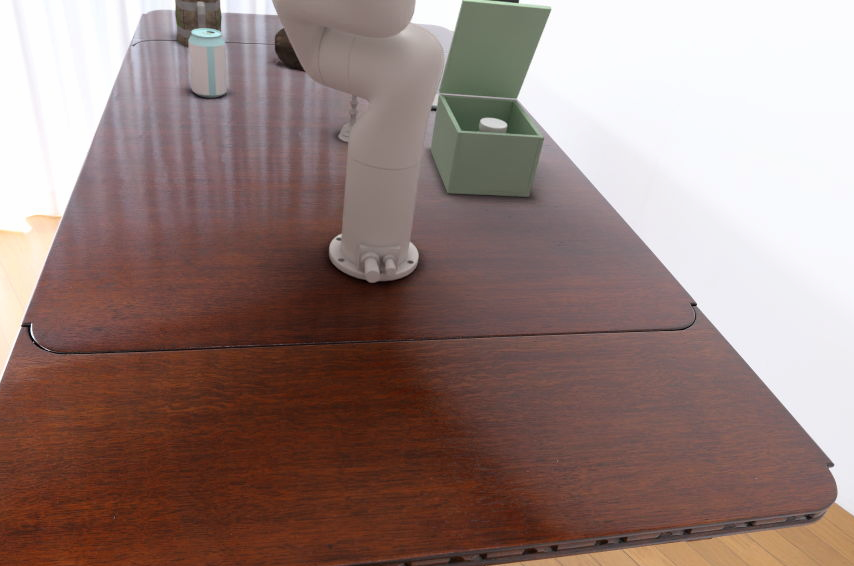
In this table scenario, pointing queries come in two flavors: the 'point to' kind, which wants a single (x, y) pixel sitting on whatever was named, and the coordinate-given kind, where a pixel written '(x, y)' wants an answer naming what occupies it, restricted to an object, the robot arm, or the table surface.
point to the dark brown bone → (286, 50)
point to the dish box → (485, 147)
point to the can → (207, 62)
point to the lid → (493, 47)
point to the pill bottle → (492, 125)
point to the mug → (196, 17)
